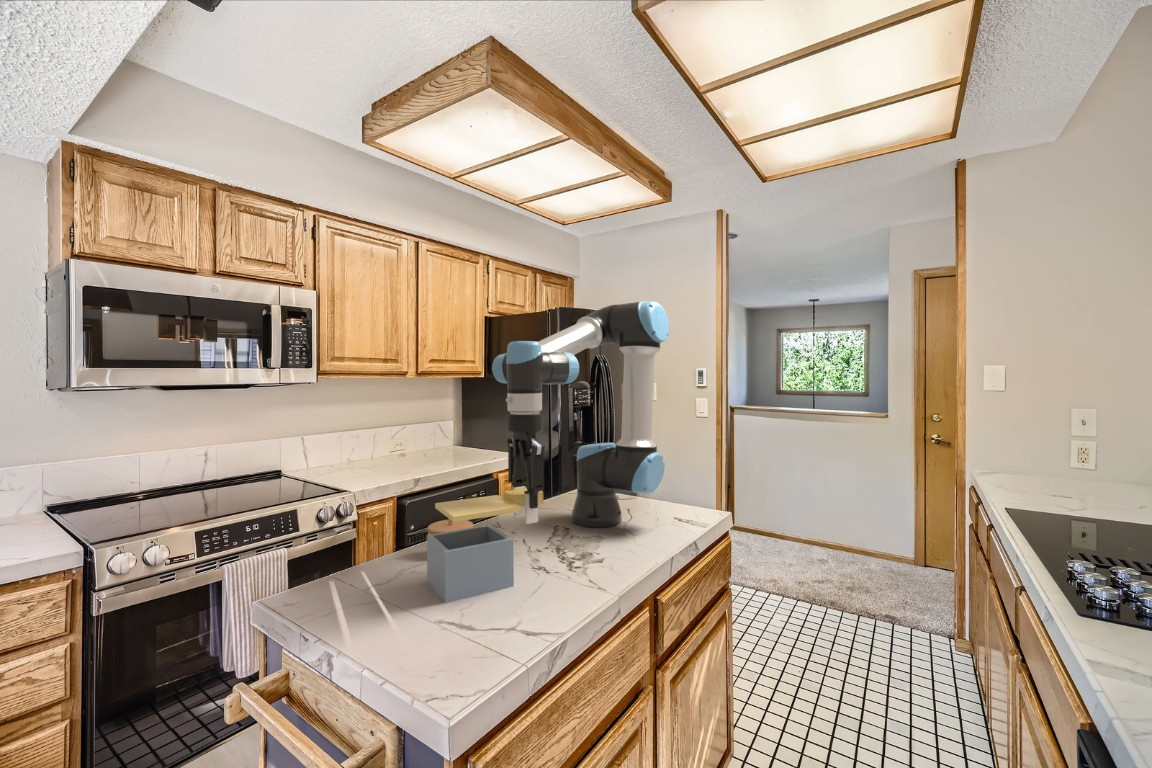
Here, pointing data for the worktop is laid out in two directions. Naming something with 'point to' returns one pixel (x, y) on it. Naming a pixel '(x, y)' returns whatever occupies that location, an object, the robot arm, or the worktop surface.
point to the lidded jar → (448, 526)
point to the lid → (485, 505)
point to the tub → (469, 562)
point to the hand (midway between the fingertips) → (525, 519)
